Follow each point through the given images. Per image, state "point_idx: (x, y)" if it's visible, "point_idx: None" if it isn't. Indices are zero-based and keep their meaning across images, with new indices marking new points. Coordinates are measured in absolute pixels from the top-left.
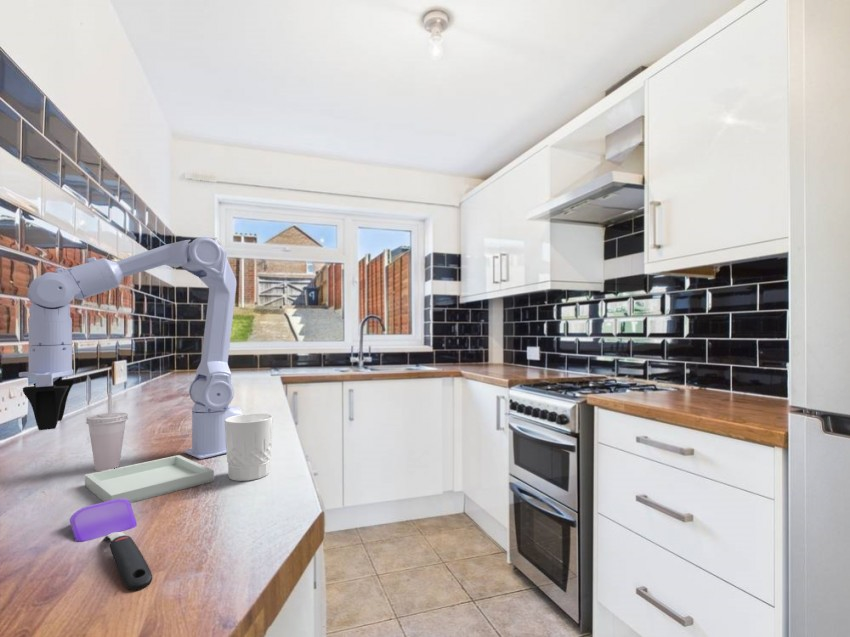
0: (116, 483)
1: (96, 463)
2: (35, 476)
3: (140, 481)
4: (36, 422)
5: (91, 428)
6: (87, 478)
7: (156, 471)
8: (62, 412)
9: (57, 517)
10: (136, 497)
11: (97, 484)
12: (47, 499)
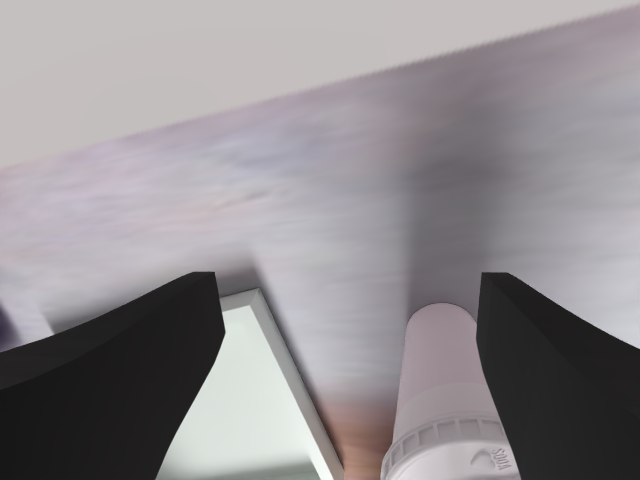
0: None
1: (420, 321)
2: (484, 134)
3: (205, 396)
4: (164, 285)
5: (428, 410)
6: (222, 309)
7: (280, 430)
8: (491, 382)
9: (32, 254)
10: None
11: None
12: (174, 216)
